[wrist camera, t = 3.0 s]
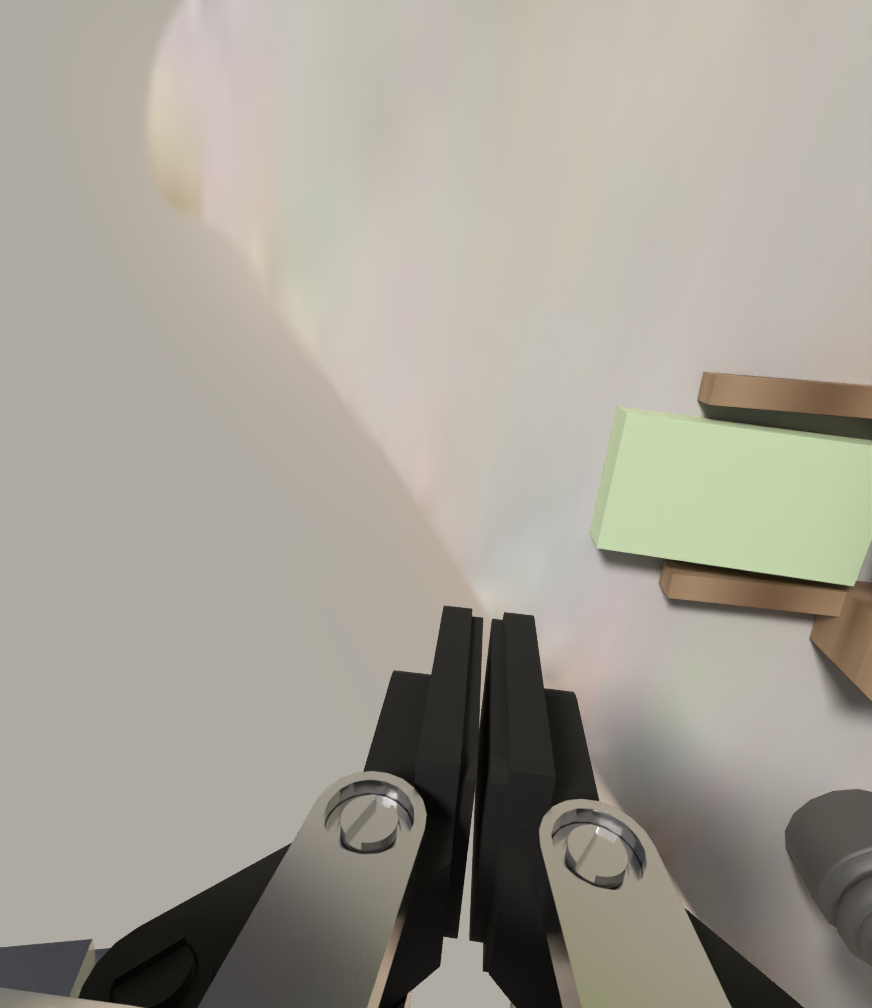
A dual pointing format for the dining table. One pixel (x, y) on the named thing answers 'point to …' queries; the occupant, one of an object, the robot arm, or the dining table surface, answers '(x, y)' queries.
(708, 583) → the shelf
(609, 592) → the dining table surface
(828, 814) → the candle holder
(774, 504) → the tile
